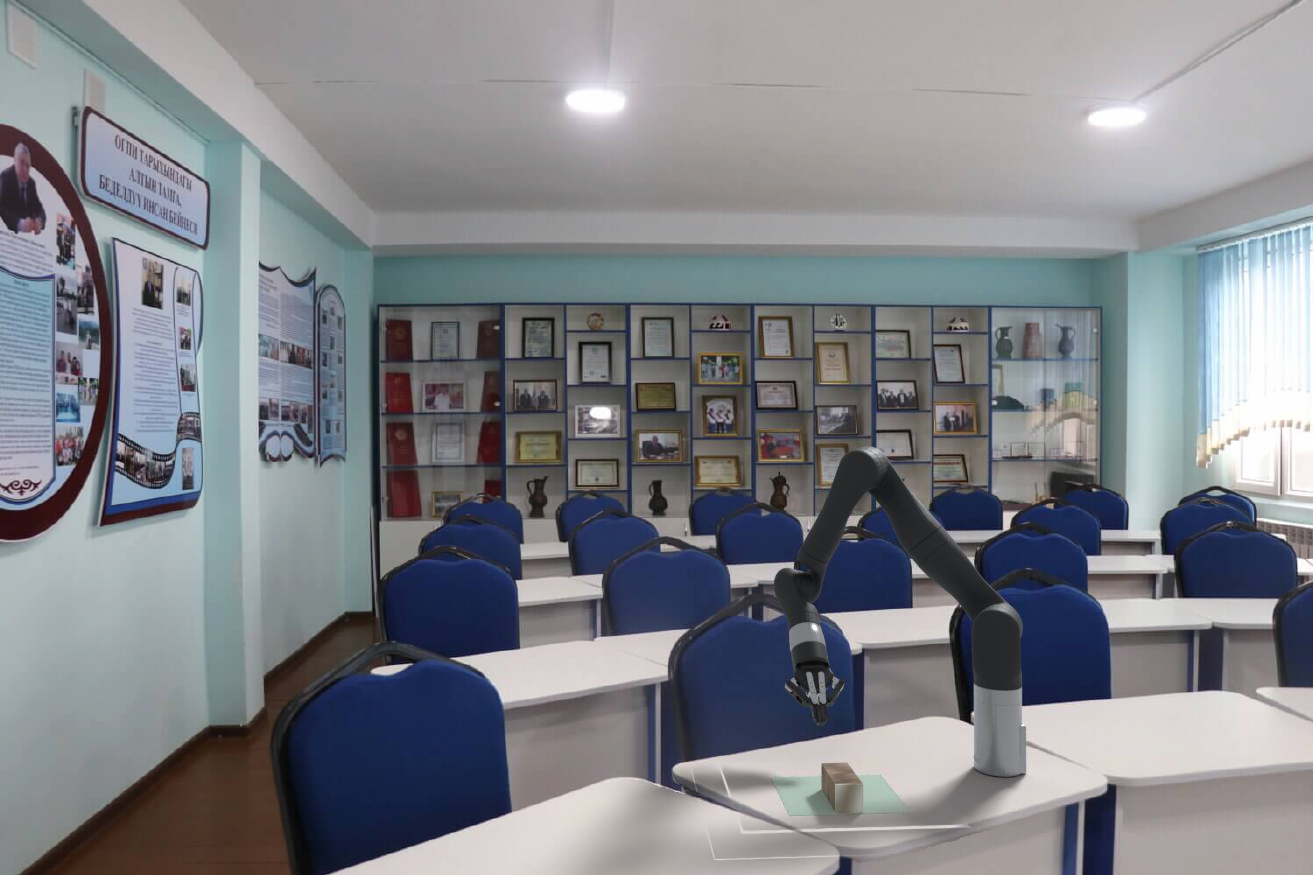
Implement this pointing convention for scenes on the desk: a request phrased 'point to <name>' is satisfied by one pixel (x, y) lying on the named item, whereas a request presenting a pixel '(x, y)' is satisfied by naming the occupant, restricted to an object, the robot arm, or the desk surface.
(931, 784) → the desk surface
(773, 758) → the desk surface
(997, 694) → the robot arm
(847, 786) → the walnut block
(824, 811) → the sage mat
